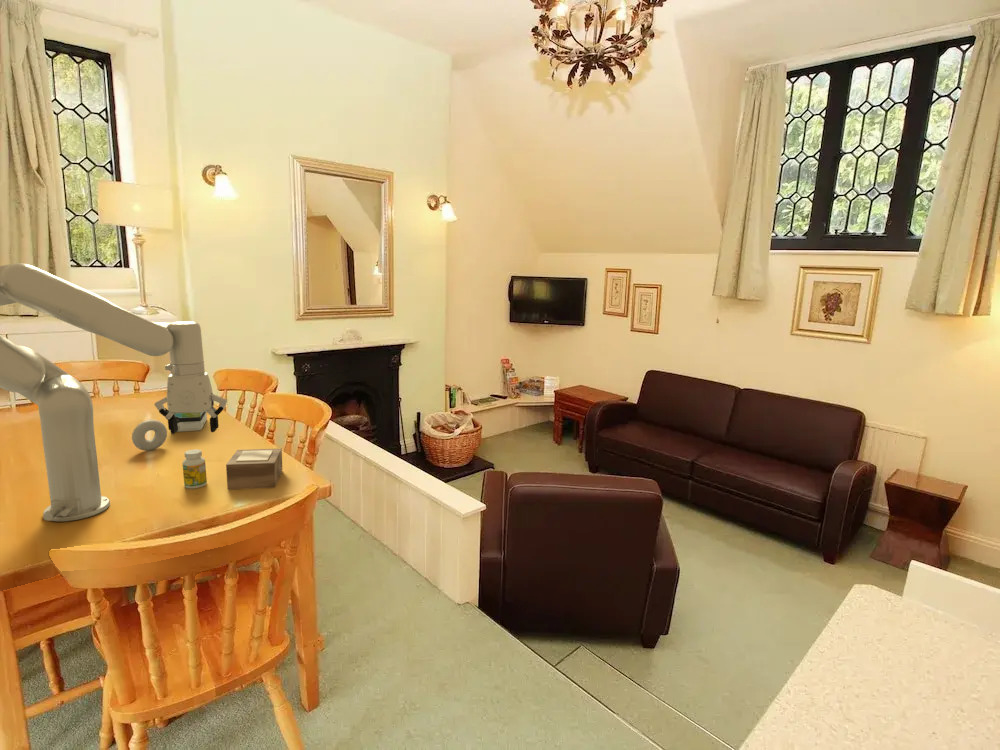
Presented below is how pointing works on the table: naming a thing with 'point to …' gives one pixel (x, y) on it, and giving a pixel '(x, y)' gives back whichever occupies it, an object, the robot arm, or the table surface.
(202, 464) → the supplement bottle
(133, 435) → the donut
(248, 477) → the walnut block
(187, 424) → the tea box
